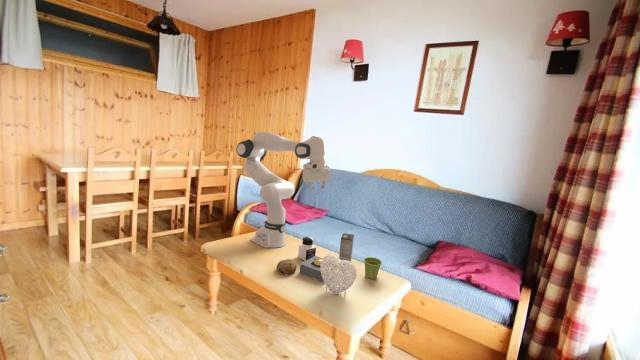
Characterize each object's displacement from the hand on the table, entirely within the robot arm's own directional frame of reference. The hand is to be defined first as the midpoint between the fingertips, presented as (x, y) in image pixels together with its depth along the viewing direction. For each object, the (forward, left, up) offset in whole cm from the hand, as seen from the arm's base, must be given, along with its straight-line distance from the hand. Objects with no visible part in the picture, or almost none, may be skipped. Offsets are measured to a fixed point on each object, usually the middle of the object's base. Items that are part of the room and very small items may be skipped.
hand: (317, 189), depth 179 cm
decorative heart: (+33, -30, -39) cm, 59 cm away
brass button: (+16, -17, -36) cm, 43 cm away
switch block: (+16, -17, -39) cm, 46 cm away
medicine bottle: (+1, -6, -39) cm, 40 cm away
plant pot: (+39, -2, -39) cm, 55 cm away
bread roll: (+2, -27, -39) cm, 48 cm away
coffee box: (+21, +3, -39) cm, 44 cm away
